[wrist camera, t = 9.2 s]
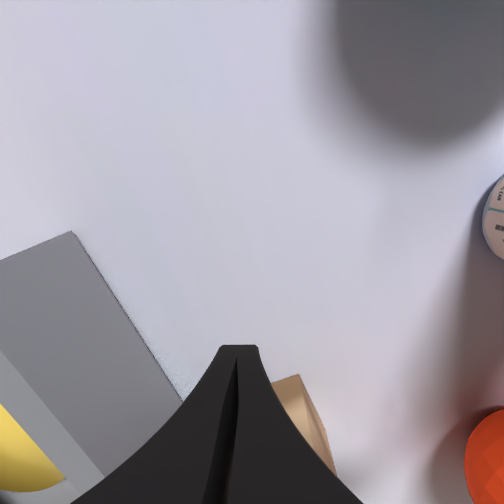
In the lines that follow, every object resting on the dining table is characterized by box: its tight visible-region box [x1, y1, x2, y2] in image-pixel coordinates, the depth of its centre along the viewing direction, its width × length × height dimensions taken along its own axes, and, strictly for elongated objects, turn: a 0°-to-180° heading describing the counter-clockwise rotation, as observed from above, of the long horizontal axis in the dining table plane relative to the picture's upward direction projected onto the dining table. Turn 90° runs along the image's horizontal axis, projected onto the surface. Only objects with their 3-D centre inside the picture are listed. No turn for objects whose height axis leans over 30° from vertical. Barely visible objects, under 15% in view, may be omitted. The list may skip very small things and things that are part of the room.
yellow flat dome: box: [0, 404, 65, 492], centre depth 14 cm, size 6×6×2 cm
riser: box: [230, 374, 337, 482], centre depth 14 cm, size 4×4×4 cm
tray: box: [0, 230, 183, 504], centre depth 13 cm, size 14×12×6 cm
